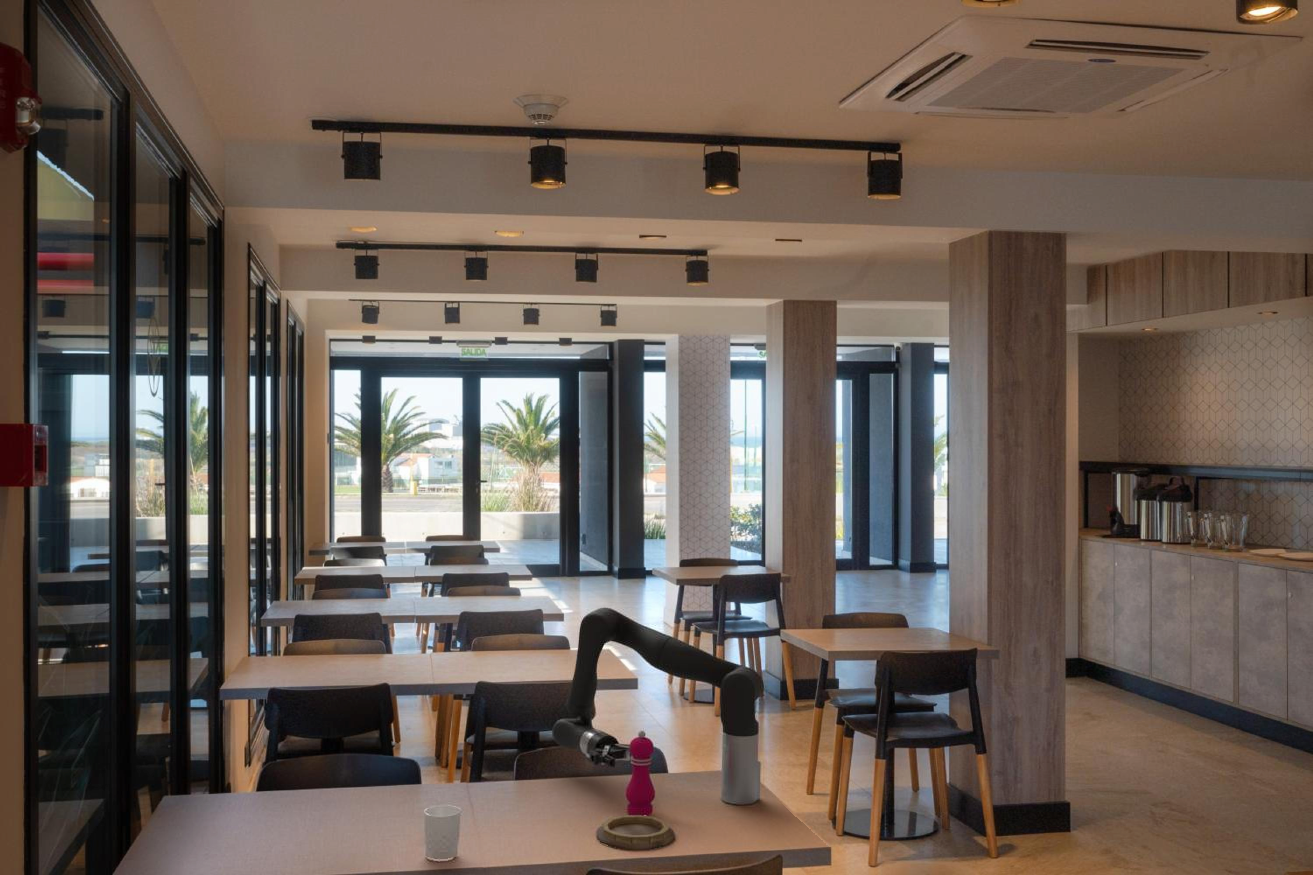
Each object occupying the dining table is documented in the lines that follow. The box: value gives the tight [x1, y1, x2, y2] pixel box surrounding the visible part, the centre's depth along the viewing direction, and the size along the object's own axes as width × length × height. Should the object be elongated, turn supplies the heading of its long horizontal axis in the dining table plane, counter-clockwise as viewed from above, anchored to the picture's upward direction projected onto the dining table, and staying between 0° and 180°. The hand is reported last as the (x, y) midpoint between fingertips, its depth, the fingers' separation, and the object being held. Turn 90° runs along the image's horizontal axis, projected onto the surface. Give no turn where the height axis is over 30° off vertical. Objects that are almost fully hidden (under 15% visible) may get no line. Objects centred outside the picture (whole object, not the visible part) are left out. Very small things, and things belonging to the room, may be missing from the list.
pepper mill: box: [625, 730, 656, 816], centre depth 288 cm, size 7×7×20 cm
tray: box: [595, 814, 675, 851], centre depth 270 cm, size 18×18×2 cm
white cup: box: [423, 804, 462, 859], centre depth 255 cm, size 8×8×10 cm
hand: (628, 761), depth 294 cm, fingers open, 8 cm apart
